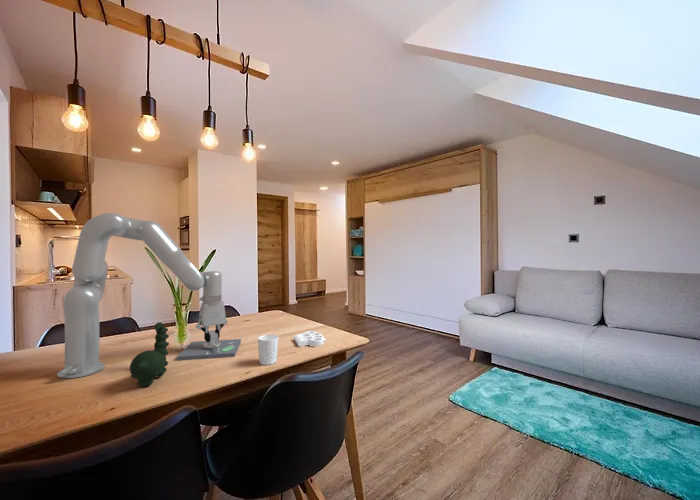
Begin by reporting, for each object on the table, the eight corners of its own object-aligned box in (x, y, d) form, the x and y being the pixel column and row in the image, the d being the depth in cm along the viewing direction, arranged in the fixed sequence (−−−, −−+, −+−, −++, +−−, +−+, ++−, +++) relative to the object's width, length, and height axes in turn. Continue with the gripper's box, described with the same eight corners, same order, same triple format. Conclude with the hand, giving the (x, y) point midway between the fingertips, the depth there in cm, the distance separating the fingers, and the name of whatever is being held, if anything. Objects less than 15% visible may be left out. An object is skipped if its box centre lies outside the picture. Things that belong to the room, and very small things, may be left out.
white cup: (282, 360, 123) (282, 336, 123) (267, 367, 116) (268, 341, 116) (268, 357, 127) (268, 333, 127) (253, 363, 120) (253, 338, 120)
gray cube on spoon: (217, 343, 139) (217, 329, 139) (227, 351, 129) (227, 336, 129) (201, 346, 135) (201, 331, 135) (209, 354, 124) (209, 339, 124)
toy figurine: (147, 371, 115) (120, 396, 92) (149, 321, 117) (122, 332, 93) (175, 368, 118) (155, 391, 94) (176, 319, 120) (157, 330, 96)
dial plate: (234, 356, 127) (234, 352, 127) (177, 360, 122) (177, 356, 122) (240, 342, 146) (240, 338, 146) (191, 344, 142) (191, 341, 142)
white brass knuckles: (292, 339, 153) (319, 336, 159) (299, 350, 137) (330, 346, 142) (292, 332, 153) (319, 329, 159) (299, 343, 137) (330, 339, 142)
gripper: (195, 302, 126) (194, 346, 126) (234, 298, 137) (233, 338, 137) (189, 300, 131) (189, 342, 131) (227, 296, 142) (227, 335, 143)
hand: (212, 339), depth 134 cm, fingers closed on gray cube on spoon, 3 cm apart
